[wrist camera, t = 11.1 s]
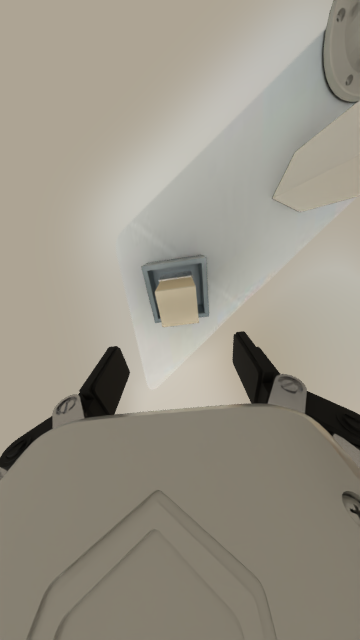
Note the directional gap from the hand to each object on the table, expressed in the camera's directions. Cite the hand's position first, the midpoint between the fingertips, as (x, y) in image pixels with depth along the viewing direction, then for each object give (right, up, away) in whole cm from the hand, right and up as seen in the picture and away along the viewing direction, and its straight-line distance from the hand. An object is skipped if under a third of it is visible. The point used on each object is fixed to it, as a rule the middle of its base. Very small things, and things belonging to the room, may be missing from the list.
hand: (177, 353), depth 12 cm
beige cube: (0, +7, +14) cm, 16 cm away
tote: (0, +10, +20) cm, 22 cm away
